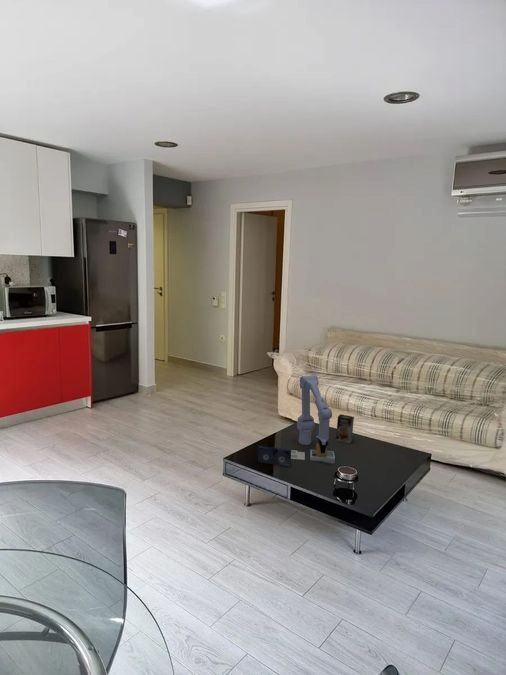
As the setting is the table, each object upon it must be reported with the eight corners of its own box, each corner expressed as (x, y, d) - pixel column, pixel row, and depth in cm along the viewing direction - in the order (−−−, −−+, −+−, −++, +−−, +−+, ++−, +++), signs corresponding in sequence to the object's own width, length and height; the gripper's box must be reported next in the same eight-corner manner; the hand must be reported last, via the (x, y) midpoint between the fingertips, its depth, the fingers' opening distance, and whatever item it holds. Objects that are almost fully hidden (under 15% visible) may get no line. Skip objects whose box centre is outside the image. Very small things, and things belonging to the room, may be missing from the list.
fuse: (315, 454, 262) (316, 443, 261) (326, 455, 261) (327, 444, 260) (316, 456, 259) (316, 445, 258) (326, 457, 258) (327, 446, 257)
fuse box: (274, 451, 268) (274, 447, 268) (304, 453, 266) (304, 449, 266) (273, 458, 258) (273, 454, 258) (304, 461, 257) (304, 457, 256)
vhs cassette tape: (290, 466, 250) (291, 449, 248) (289, 469, 247) (290, 451, 245) (258, 461, 254) (259, 445, 253) (257, 464, 252) (257, 447, 250)
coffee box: (335, 440, 287) (337, 416, 285) (338, 437, 293) (340, 413, 290) (349, 443, 283) (351, 419, 281) (352, 440, 289) (354, 416, 286)
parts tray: (310, 454, 266) (310, 449, 265) (333, 456, 265) (333, 451, 264) (310, 461, 256) (310, 456, 256) (334, 463, 255) (334, 458, 254)
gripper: (316, 424, 265) (315, 446, 267) (317, 433, 251) (315, 456, 253) (328, 425, 264) (327, 447, 266) (330, 434, 250) (328, 457, 252)
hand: (322, 451), depth 260 cm, fingers closed on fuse, 3 cm apart
